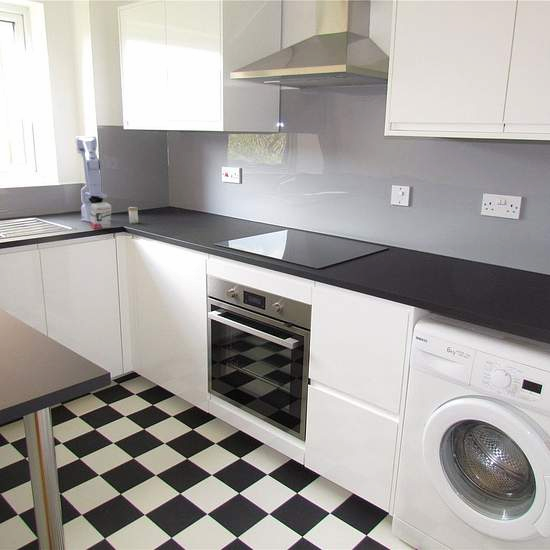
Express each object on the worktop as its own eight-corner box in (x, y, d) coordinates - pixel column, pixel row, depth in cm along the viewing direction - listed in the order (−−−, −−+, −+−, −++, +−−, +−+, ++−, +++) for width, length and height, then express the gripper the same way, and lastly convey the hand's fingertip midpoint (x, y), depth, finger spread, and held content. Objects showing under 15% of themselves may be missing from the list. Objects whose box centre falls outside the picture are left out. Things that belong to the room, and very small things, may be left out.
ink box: (94, 229, 260) (95, 207, 255) (89, 225, 263) (90, 203, 258) (110, 227, 266) (111, 205, 261) (105, 223, 269) (107, 201, 264)
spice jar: (127, 222, 279) (126, 207, 277) (134, 221, 283) (133, 206, 281) (133, 223, 276) (132, 208, 274) (140, 222, 280) (139, 207, 278)
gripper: (78, 184, 260) (81, 211, 264) (97, 185, 253) (100, 213, 256) (90, 182, 266) (92, 209, 270) (109, 184, 258) (111, 212, 262)
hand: (97, 211), depth 263 cm, fingers closed
